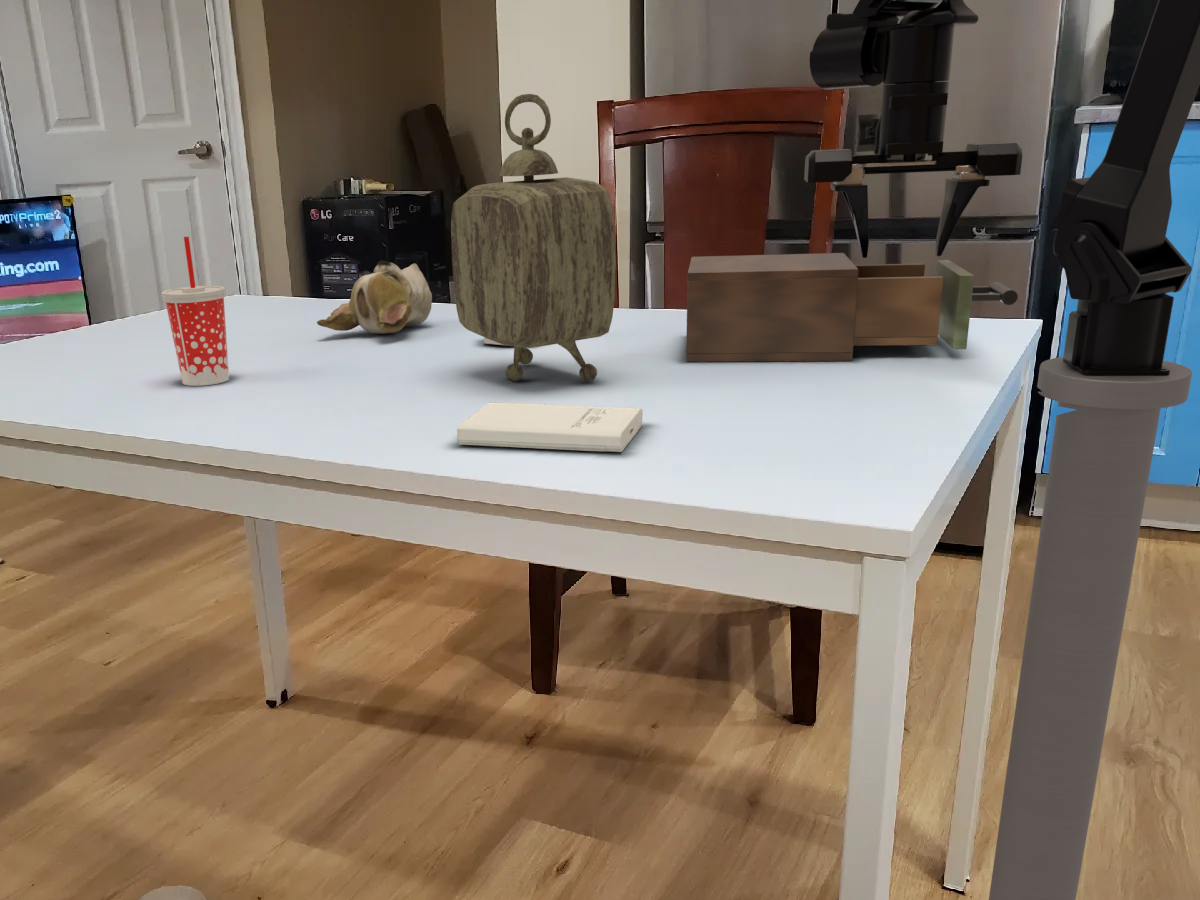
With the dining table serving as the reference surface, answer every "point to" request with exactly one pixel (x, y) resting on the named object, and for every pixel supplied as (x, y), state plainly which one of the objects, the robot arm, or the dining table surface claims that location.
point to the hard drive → (551, 427)
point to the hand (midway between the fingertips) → (900, 256)
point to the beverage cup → (198, 330)
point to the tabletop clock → (534, 255)
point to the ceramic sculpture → (384, 301)
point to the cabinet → (771, 308)
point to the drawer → (918, 304)
